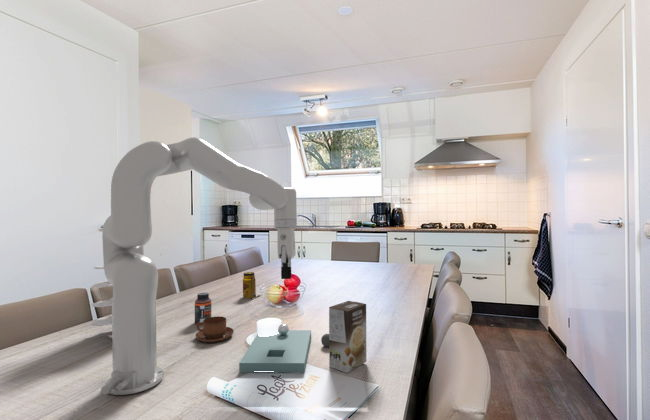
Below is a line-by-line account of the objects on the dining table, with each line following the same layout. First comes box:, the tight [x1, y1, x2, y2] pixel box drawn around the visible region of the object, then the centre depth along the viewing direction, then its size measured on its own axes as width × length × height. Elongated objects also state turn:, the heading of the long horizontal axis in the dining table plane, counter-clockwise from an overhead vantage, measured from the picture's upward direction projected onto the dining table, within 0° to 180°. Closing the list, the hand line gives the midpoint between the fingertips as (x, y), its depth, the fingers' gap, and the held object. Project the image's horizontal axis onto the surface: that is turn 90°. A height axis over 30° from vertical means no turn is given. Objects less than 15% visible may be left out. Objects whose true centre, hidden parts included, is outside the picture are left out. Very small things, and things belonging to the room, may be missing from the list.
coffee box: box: [328, 300, 367, 374], centre depth 92 cm, size 9×6×16 cm
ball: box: [277, 323, 290, 335], centre depth 108 cm, size 3×3×3 cm
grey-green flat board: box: [238, 329, 312, 374], centre depth 100 cm, size 24×17×2 cm
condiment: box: [242, 271, 261, 300], centre depth 166 cm, size 7×8×12 cm
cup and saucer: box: [195, 315, 234, 343], centre depth 113 cm, size 12×12×6 cm
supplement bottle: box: [194, 292, 213, 326], centre depth 127 cm, size 6×6×11 cm
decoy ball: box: [320, 333, 329, 348], centre depth 105 cm, size 4×4×4 cm
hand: (286, 278), depth 115 cm, fingers closed
